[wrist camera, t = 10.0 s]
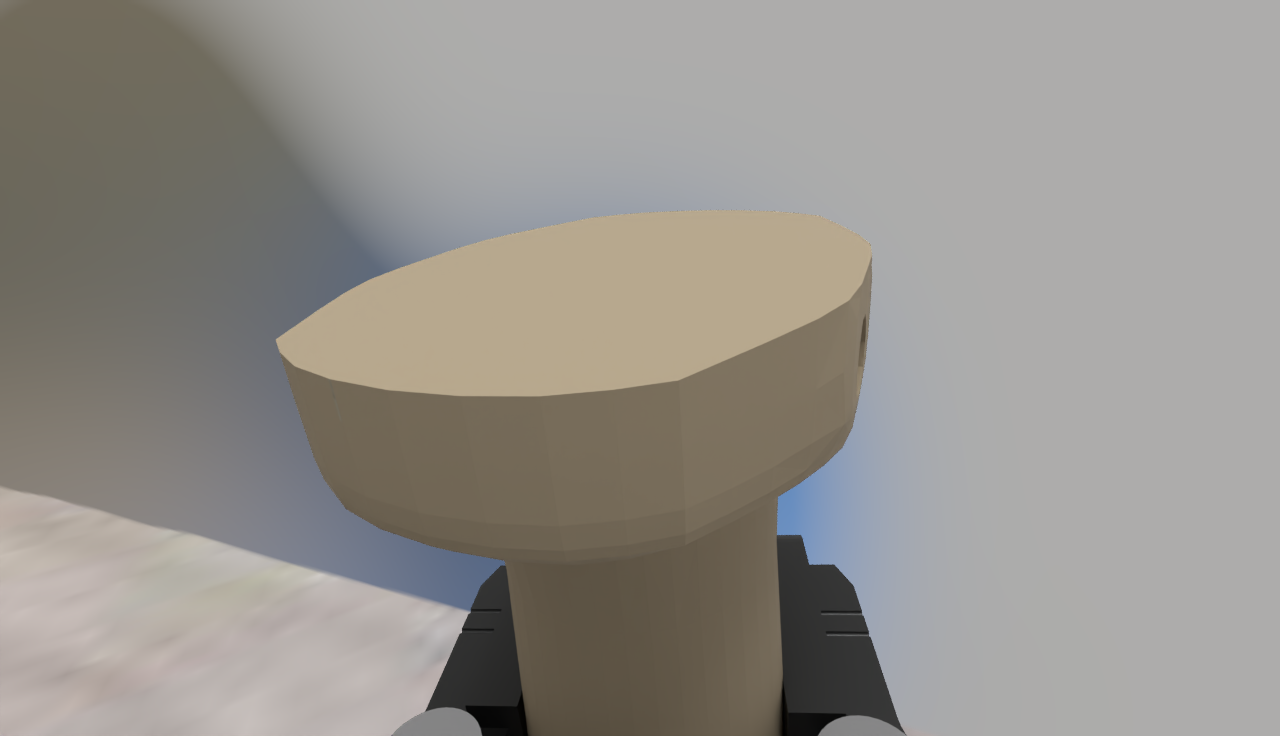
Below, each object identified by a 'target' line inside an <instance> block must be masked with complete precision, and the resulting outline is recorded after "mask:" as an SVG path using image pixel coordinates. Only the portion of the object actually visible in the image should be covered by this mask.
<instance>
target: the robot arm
mask: <svg viewBox="0 0 1280 736" xmlns="http://www.w3.org/2000/svg"><path fill="white" fill-rule="evenodd" d="M777 560H778V581H779V602H780V623H781V644H782V665H783V724H784V736H906V734H905V732H904V731H903V729H902V727H901V725H900V723H899V720H898V718H897V715H896V712H895V709H894V706H893V703H892V701H891V697H890V694H889V691H888V688H887V685H886V682H885V679H884V676H883V673H882V670H881V667H880V664H879V661H878V658H877V655H876V652H875V649H874V646H873V643H872V640H871V638H870V637H869V631H868V628H867V625H866V622H865V619H864V616H862V610H861V607H860V604H859V601H858V598H857V595H856V592H855V589H854V586H853V585H852V584H851V583H850V582H849V580H848V579H847V578H846V577H845V576H844V575H843V574H842V573H841V572H840V571H839V569H838V568H837V567H836V566H835V565H809V563H808V559H807V555H806V551H805V547H804V543H803V539H802V537H801V535H777ZM392 736H528V733H527V725H526V716H525V709H524V701H523V693H522V686H521V678H520V670H519V662H518V654H517V647H516V639H515V631H514V623H513V615H512V608H511V600H510V592H509V584H508V576H507V569H506V566H500V567H499V568H498V569H497V570H496V571H495V572H494V573H493V574H492V575H491V576H490V577H489V579H487V580H486V581H485V582H484V583H483V584H482V585H481V587H480V589H479V592H478V594H477V596H476V598H475V601H474V603H473V605H472V607H471V613H470V614H468V617H467V619H466V621H465V623H464V626H463V628H462V633H460V635H459V637H458V639H457V641H456V644H455V646H454V648H453V650H452V653H451V655H450V657H449V659H448V662H447V664H446V666H445V668H444V671H443V673H442V675H441V677H440V680H439V682H438V684H437V686H436V689H435V691H434V693H433V696H432V698H431V700H430V702H429V705H428V707H427V709H426V711H425V712H424V713H421V714H419V715H417V716H415V717H413V718H412V719H410V720H409V721H407V722H406V723H404V724H403V725H402V726H401V727H400V728H398V729H397V730H396V731H395V732H394V733H393V735H392Z"/></svg>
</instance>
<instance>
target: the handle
mask: <svg viewBox="0 0 1280 736" xmlns="http://www.w3.org/2000/svg"><path fill="white" fill-rule="evenodd" d="M871 264H872V252H871V245H870V243H868V242H867V241H866V240H865V239H863V238H862V237H861V236H860V235H858V234H856V233H854V232H852V231H850V230H848V229H846V228H845V227H843V226H841V225H838V224H836V223H834V222H832V221H830V220H828V219H825V218H823V217H821V216H816V215H807V214H799V213H787V212H775V211H774V212H773V211H744V210H743V211H742V210H741V211H740V210H731V211H730V210H708V211H707V210H705V211H670V212H649V213H636V214H624V215H613V216H603V217H594V218H588V219H584V220H579V221H574V222H568V223H563V224H558V225H553V226H548V227H543V228H538V229H533V230H528V231H524V232H519V233H514V234H510V235H505V236H502V237H497V238H493V239H489V240H484V241H481V242H478V243H475V244H471V245H468V246H464V247H461V248H457V249H454V250H452V251H449V252H446V253H443V254H440V255H437V256H434V257H431V258H428V259H425V260H422V261H419V262H416V263H413V264H410V265H407V266H404V267H402V268H399V269H396V270H394V271H391V272H388V273H386V274H383V275H381V276H378V277H375V278H373V279H370V280H368V281H366V282H365V283H363V284H361V285H359V286H357V287H355V288H353V289H351V290H349V291H347V292H346V293H344V294H342V295H341V296H339V297H338V298H336V299H335V300H333V301H332V302H330V303H329V304H327V305H325V306H324V307H322V308H321V309H319V310H318V311H316V312H315V313H313V314H312V315H311V316H309V317H308V318H306V319H305V320H303V321H302V322H300V323H299V324H298V325H296V326H295V327H293V328H292V329H290V330H289V331H287V332H286V333H285V334H283V335H282V336H280V337H279V338H277V339H276V342H277V345H278V348H279V351H280V354H281V358H282V361H283V364H284V367H285V371H286V374H287V377H288V380H289V383H290V387H291V390H292V393H293V396H294V399H295V402H296V405H297V408H298V411H299V414H300V417H301V420H302V423H303V426H304V429H305V432H306V435H307V438H308V441H309V444H310V447H311V450H312V453H313V456H314V458H315V461H316V463H317V465H318V467H319V469H320V472H321V474H322V476H323V478H324V480H325V481H326V482H327V484H328V485H329V487H330V488H331V490H332V491H333V492H334V493H335V495H336V496H337V498H338V499H339V500H340V501H341V503H342V504H343V505H344V507H345V508H346V509H347V510H349V511H350V512H352V513H354V514H356V515H357V516H359V517H361V518H362V519H364V520H366V521H368V522H369V523H371V524H373V525H375V526H376V527H378V528H380V529H382V530H385V531H388V532H391V533H394V534H397V535H400V536H403V537H405V538H409V539H411V540H414V541H417V542H421V543H423V544H426V545H429V546H433V547H437V548H441V549H445V550H449V551H454V552H459V553H465V554H471V555H476V556H482V557H488V558H493V559H499V560H504V561H505V565H506V569H507V576H508V584H509V592H510V600H511V608H512V615H513V623H514V631H515V639H516V647H517V654H518V662H519V670H520V678H521V686H522V693H523V701H524V709H525V716H526V725H527V733H528V736H784V724H783V665H782V644H781V623H780V602H779V581H778V560H777V506H778V496H780V495H781V494H783V493H785V492H787V491H788V490H790V489H791V488H793V487H795V486H796V485H798V484H799V483H801V482H802V481H803V480H805V479H806V478H808V477H809V476H810V475H812V474H813V473H814V472H816V471H817V470H818V469H819V468H821V467H822V466H824V465H825V464H826V463H827V462H828V461H829V460H830V459H831V458H832V457H833V456H834V455H835V454H836V453H837V452H838V451H839V450H840V449H841V448H842V447H843V445H844V443H845V441H846V439H847V437H848V435H849V433H850V431H851V429H852V427H853V422H854V418H855V413H856V409H857V404H858V399H859V394H860V389H861V383H862V378H863V371H864V364H865V359H866V349H867V339H868V327H869V314H870V301H871V283H872V266H871Z"/></svg>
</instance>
